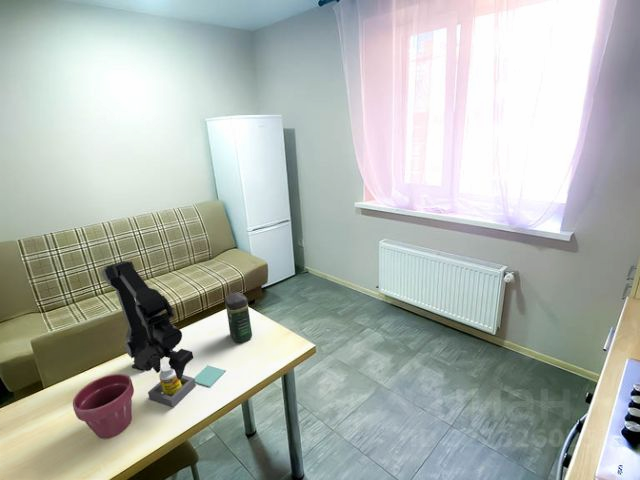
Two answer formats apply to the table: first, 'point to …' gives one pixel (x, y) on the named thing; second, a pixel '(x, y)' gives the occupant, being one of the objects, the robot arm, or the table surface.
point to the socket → (166, 400)
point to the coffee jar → (238, 317)
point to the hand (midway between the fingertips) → (169, 375)
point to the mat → (209, 376)
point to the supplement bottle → (169, 380)
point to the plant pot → (106, 405)
